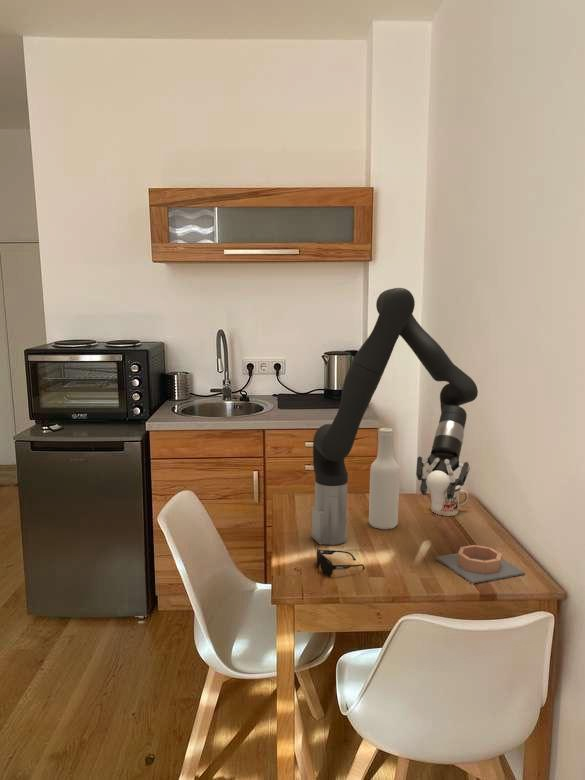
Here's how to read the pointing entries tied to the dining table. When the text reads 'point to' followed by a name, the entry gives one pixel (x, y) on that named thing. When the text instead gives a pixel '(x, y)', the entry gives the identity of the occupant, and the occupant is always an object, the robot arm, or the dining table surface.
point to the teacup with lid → (451, 503)
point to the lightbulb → (437, 488)
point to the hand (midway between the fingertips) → (436, 495)
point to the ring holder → (479, 564)
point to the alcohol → (384, 485)
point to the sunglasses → (327, 564)
